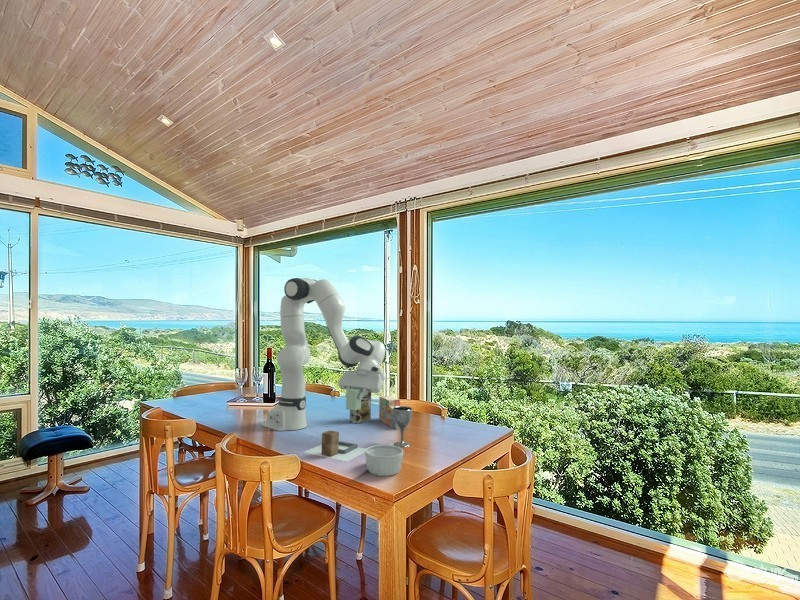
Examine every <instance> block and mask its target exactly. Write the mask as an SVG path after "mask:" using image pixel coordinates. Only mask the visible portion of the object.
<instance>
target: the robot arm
mask: <svg viewBox="0 0 800 600" xmlns="http://www.w3.org/2000/svg"><path fill="white" fill-rule="evenodd" d="M283 288H284V289H283V291H284V294H285V295H284V296H282V298H281V300H280V309H279V310H280V312H279V313H280V330H281V331H280V332H281V335H282V337H283V341H284V344H285V346H284V347H283V348H282V349H281V350H280V351H279V352H278V354H277V357H276V361H277V364H278V366H279V371H280V377H281V395H280V397H278V398H276V401H278V402H277V403H278V404H277V405H276V406H274V407H273V408H272V409H271V410H269V411H268V412H267V415H266V419H265V421H263V422H261V423H260V426H262V427H263V428H264V427H265V428H268V429H270V430H275V431H278V432H280V431H296V430H297V431H298V430H302V429H304V428H307V427H308V421H307V416H306V403H307V399H306V398H307V397H306V378H305V374H304V367H303V366H304V365H306V364H308V362H309V360H310V358H311V351H310V349H309V343H308V339H307V335H306V330H305V315H304V314H305V313H304V307H305V304H311V303H313V302H315V303H316V305H317V306H318V308H319V311H320V312H321V314H322V317H323V318H324V319H323V320H324V321H325V324H326V328H327V330H328V332H329V335H330V337H331V339H332V342H333V343H334V345H335V348H336V349H337V354H338V355H337V356H338V360H339V362H340V363H341V365H343V366H344V367H347V368H355V367H356V368H355V370H348V371H345V372H344V373H343V375H341V377H340V379H339V380H338V382H337V384H338V385H337V386H338V387H339V388H340V389H341V390H346V393H345V398H346V394H347V390H348V389H352V388H354V389H362V390H361V391H362V393H361V394H358V396H357V398H358V399H359V400H362V398H363V396H365V395H366V394H367V393H368V392H370V393H371V394H379V393H380V392H381V391H382V389H383V386H384V381H385V380H386V378H385V374H384V373H383V371H382V369H381V368H380V366H381V364H382V363H383V361H384V358H385V355H386V351H387V350H386V346H385V344H384V343H383V342H382V341H380V340H378V339H377V340H376V339H375V340H370V339H366V338H365V337H363V336H361V335H354V336H352V337H351V338H350V339H349V340H348V338H347V336H346V333H345V332H344V329H343V319H344V315H345V309H346V307H345V304H344V300H343V298H342V297H341V296H340V293H339V292H338V291H337V290H336V288H335V286H333V284H332V283H331V282H330V281H329V280H327V279H323V278H322V279H319V280H317V279H312V278H306V277H304V278H303V277H302V278H300V277H293V278H290V279H288V280H287V281H286V282H285V284H284V287H283Z"/></svg>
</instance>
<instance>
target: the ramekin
mask: <svg viewBox="0 0 800 600" xmlns="http://www.w3.org/2000/svg"><path fill="white" fill-rule="evenodd" d="M365 449H366V450H365V452H364V455H365V463H366V464H365V465H366V469H367V471H368V473H370V474H371V475H373V474H374V475H373V476H376V475H378V476H377V477H390V476H389V475H392V476H395V475H397V474H398V473H399V472H401V468H402V464H403V456H404V450H403V448H402V447H397V446H394V444H392V445H391V444H375V445H371V446H369V447H367V448H365ZM394 474H395V475H394Z"/></svg>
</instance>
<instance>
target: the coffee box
mask: <svg viewBox="0 0 800 600" xmlns="http://www.w3.org/2000/svg"><path fill="white" fill-rule="evenodd" d="M361 393H362V391H361ZM371 413H372V393H370V392H368V393H367V394H366V395H365V396H363V398H362V400H361V409H358V410H349V422H351V421H352V422H351V423H353V422H355V423H354V424H356V423H357V424H361V423H360V422H363V423H367V422H366V421H369V422H371V421H372V420H371V418H372V417H371V415H372V414H371Z"/></svg>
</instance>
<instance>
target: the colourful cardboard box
mask: <svg viewBox="0 0 800 600" xmlns="http://www.w3.org/2000/svg"><path fill="white" fill-rule="evenodd" d="M378 399H379V402H378V405H379V406H378V407H379V409H378V412H379V413H378V419H380V420H379V421H381V422H382V421H383V422H382V423H383V424H385V423H386V425H387V424H388V425H387V426H389V425H390V426H389V427H391V428H392V429H394V428H395V430H400V428H399V427H398V425H397V424H396V423H395V421H394V415H393V408H394V407H398V406H401V405H400V403H401V400H400V399H399V398H396V397H394V396H392V395H385V396H384V395H383V396H382V395H381V396H379V397H378ZM407 428H408V426H407V427H406V428H405V429H407Z"/></svg>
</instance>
